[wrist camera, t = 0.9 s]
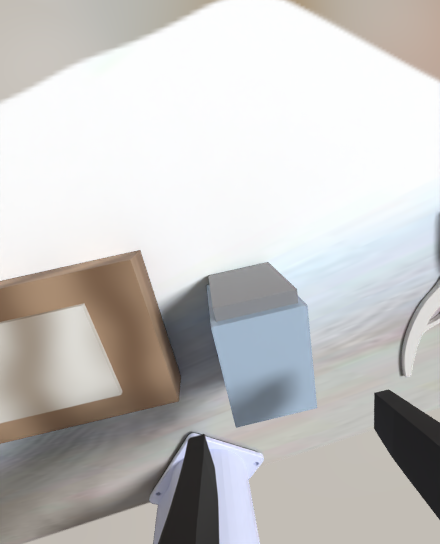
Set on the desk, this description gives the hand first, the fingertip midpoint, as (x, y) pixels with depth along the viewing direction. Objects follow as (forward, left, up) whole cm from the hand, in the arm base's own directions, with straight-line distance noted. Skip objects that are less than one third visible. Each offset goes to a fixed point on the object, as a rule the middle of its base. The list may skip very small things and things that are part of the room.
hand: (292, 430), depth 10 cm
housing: (0, 0, -10) cm, 10 cm away
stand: (-8, +12, -9) cm, 17 cm away
